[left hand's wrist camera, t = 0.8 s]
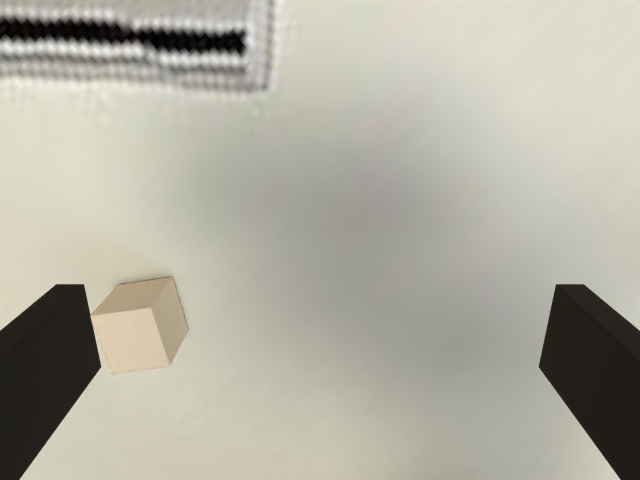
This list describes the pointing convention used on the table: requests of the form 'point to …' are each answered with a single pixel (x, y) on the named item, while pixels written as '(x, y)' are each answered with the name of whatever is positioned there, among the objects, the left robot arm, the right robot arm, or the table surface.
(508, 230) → the table surface
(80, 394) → the left robot arm
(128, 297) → the block
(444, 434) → the table surface
